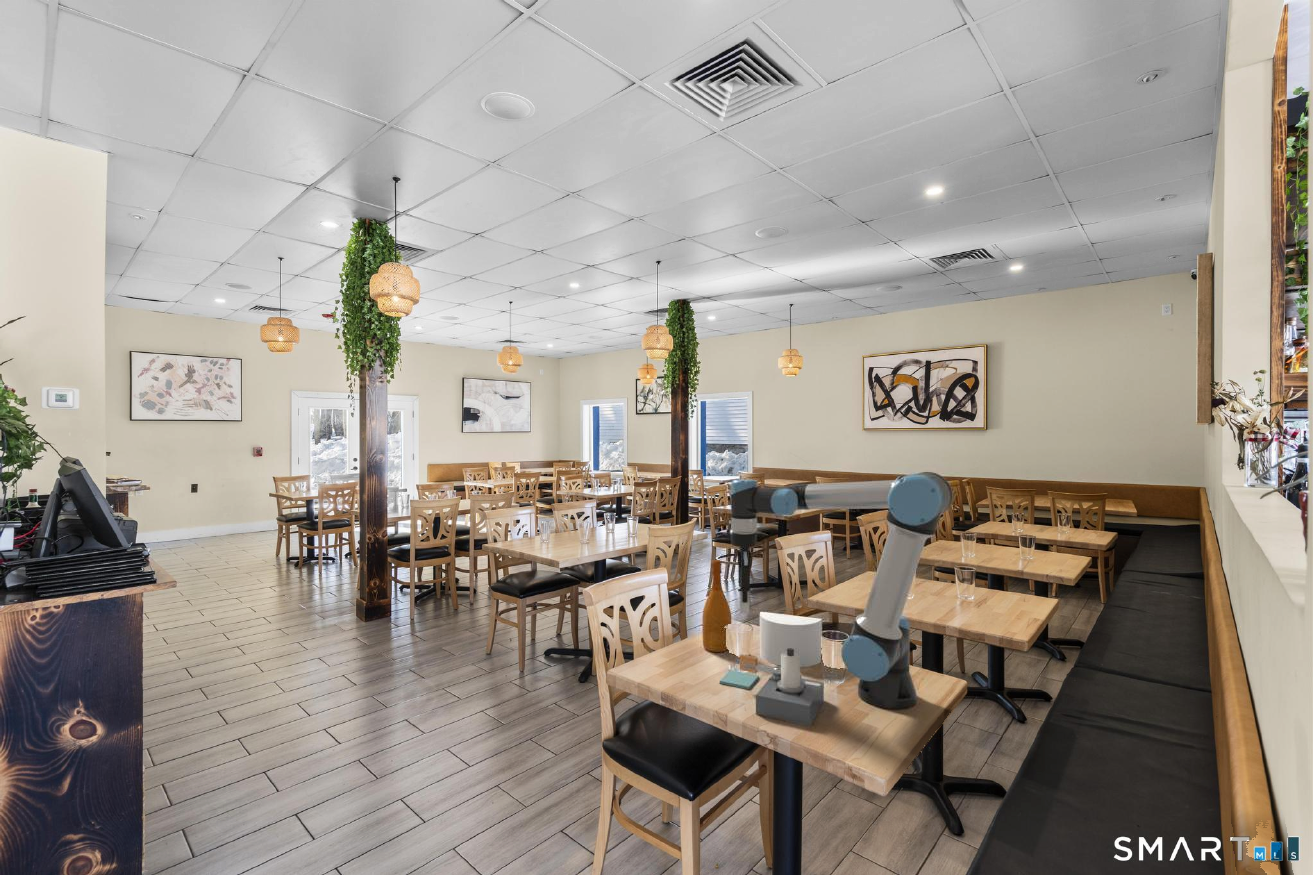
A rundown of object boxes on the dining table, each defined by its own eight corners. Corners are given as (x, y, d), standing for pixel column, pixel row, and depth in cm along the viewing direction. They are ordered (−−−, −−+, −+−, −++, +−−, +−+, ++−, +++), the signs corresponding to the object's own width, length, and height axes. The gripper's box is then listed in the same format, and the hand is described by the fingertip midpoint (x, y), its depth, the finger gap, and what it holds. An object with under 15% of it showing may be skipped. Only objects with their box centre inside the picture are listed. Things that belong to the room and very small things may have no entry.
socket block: (823, 700, 166) (823, 677, 166) (809, 725, 152) (809, 700, 152) (773, 690, 173) (773, 668, 172) (755, 713, 158) (755, 689, 158)
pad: (758, 677, 181) (758, 675, 181) (749, 689, 173) (749, 686, 173) (730, 672, 185) (730, 669, 185) (719, 683, 177) (719, 680, 177)
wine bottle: (726, 642, 212) (726, 556, 212) (735, 652, 202) (734, 562, 202) (699, 644, 210) (699, 557, 210) (706, 654, 201) (706, 563, 200)
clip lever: (738, 670, 173) (738, 656, 173) (742, 667, 175) (742, 653, 175) (799, 684, 163) (798, 670, 163) (803, 681, 165) (802, 666, 165)
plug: (806, 704, 164) (806, 647, 163) (800, 715, 157) (800, 655, 157) (781, 699, 167) (781, 643, 167) (774, 709, 161) (773, 651, 161)
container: (826, 649, 204) (826, 610, 204) (816, 671, 186) (816, 628, 186) (767, 641, 213) (767, 603, 212) (752, 661, 194) (752, 620, 194)
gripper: (729, 527, 187) (729, 603, 187) (732, 536, 172) (733, 619, 172) (753, 527, 187) (754, 604, 187) (759, 536, 171) (759, 619, 172)
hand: (744, 611), depth 180 cm, fingers open, 2 cm apart
